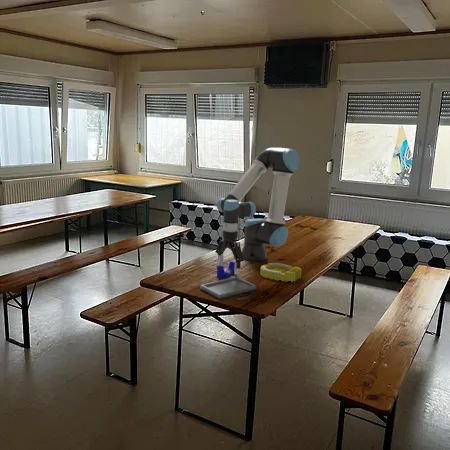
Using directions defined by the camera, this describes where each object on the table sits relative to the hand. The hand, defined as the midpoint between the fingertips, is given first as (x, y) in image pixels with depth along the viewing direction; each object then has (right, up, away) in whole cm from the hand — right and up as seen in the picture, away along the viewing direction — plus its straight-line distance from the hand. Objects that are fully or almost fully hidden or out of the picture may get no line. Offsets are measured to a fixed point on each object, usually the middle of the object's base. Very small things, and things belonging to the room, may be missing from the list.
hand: (228, 270), depth 235 cm
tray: (0, -7, -19) cm, 20 cm away
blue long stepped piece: (0, -3, +1) cm, 3 cm away
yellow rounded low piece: (+27, -3, +3) cm, 27 cm away
